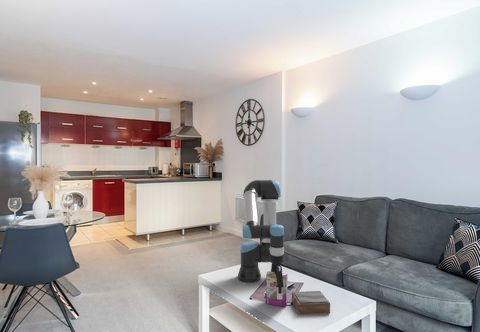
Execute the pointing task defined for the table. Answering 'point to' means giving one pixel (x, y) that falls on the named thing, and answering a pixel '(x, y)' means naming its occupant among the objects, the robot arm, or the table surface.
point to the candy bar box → (275, 289)
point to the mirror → (310, 302)
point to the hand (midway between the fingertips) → (276, 293)
